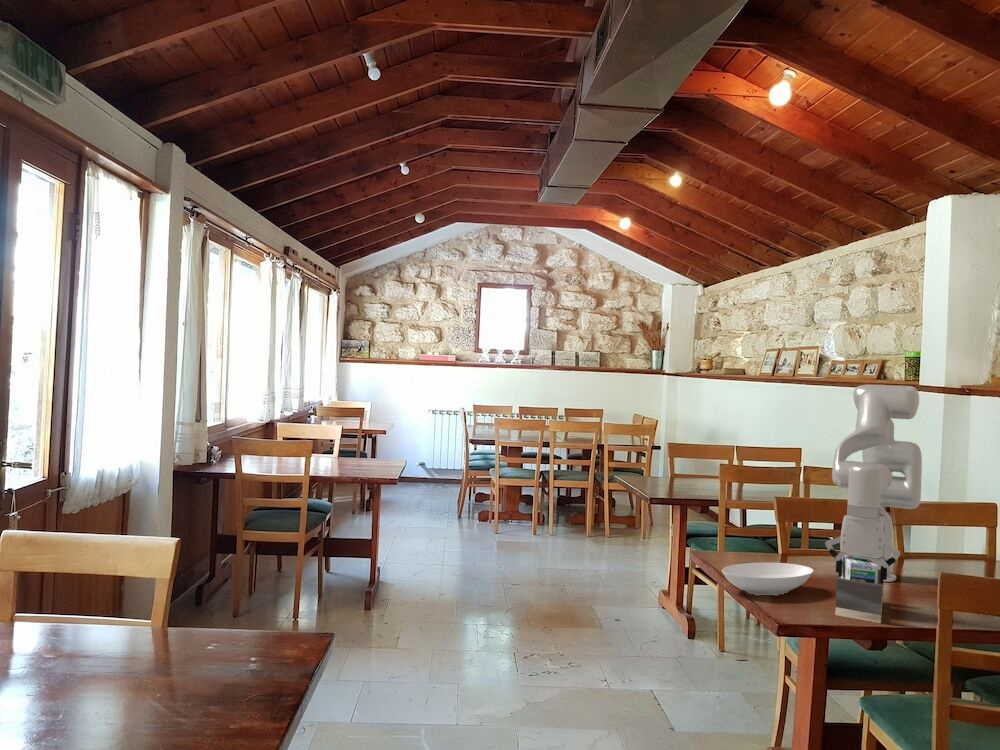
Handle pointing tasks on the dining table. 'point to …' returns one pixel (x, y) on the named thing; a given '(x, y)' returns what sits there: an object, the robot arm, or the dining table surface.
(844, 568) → the light bulb box
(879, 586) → the grey phone stand
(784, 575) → the bowl
